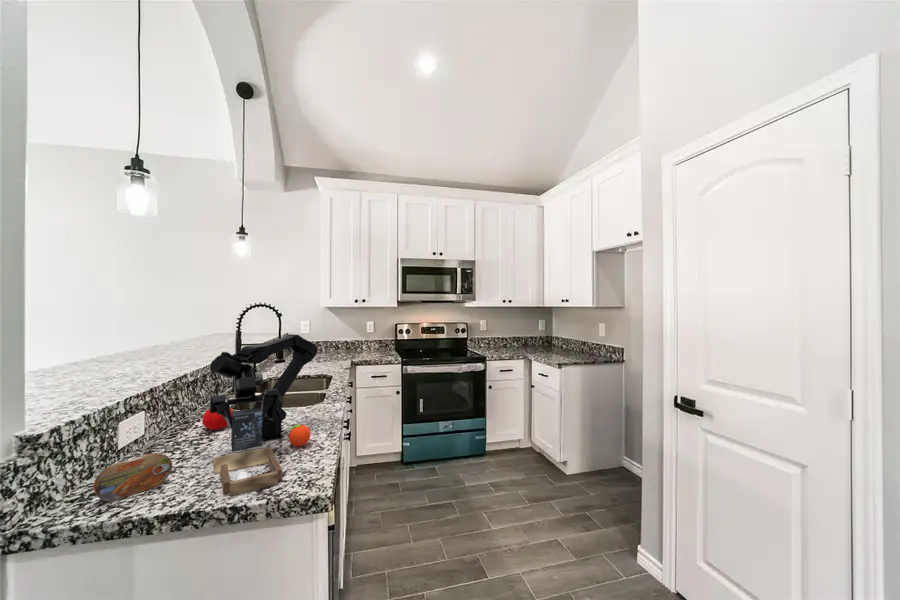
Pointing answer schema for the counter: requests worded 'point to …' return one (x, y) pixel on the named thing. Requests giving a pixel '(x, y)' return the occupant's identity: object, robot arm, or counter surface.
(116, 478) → the tin
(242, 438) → the box
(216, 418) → the tomato
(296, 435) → the clementine
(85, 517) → the counter surface
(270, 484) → the brown u-shaped bracket
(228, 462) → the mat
